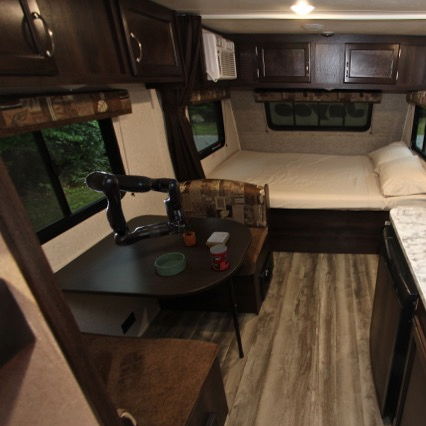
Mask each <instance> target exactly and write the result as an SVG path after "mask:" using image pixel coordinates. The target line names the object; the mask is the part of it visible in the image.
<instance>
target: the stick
mask: <svg viewBox="0 0 426 426" xmlns="http://www.w3.org/2000/svg"><path fill="white" fill-rule="evenodd" d="M183 219H184V223H185V226H187V225H190V224H189V223H190V222H189V223H188V219H189V218H188V215H187V214H184V215H183ZM190 232H191V229H188V230H185V233H187V236H191V233H190Z"/></svg>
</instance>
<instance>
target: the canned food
mask: <svg viewBox="0 0 426 426" xmlns="http://www.w3.org/2000/svg"><path fill="white" fill-rule="evenodd" d="M209 254H210V260H211V265H212V269H213V271H219V272H221V271H225V270H226V269H228V268H229V266H230V262H229V254H228V247H227V245H226V244H225V245H215V246H213V247H211V248H209Z"/></svg>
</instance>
